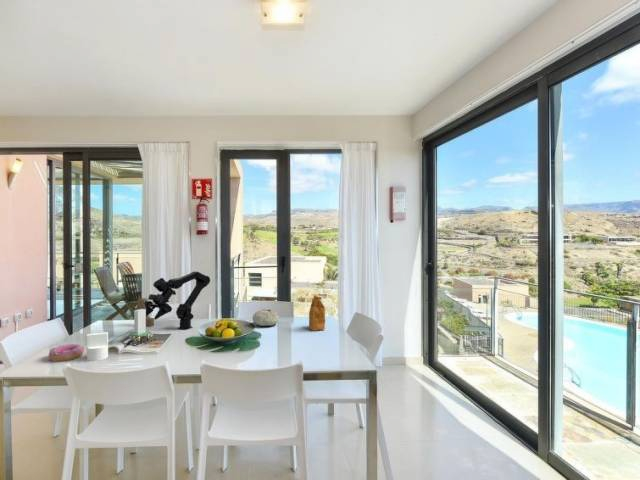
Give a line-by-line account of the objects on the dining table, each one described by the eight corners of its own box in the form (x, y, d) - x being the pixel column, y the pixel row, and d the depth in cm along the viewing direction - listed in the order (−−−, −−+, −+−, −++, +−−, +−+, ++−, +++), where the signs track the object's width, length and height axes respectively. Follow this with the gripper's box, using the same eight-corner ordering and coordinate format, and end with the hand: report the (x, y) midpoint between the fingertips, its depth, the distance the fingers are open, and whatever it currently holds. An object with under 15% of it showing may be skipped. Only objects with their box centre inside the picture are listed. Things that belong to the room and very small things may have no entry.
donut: (78, 350, 188) (78, 341, 188) (88, 357, 179) (88, 347, 179) (44, 358, 177) (44, 348, 177) (53, 365, 168) (53, 354, 168)
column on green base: (141, 331, 209) (141, 307, 209) (150, 333, 206) (150, 309, 206) (129, 335, 202) (128, 310, 202) (138, 337, 199) (138, 312, 198)
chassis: (142, 337, 212) (142, 330, 212) (156, 340, 207) (156, 333, 207) (123, 342, 201) (123, 335, 201) (137, 346, 196) (137, 338, 196)
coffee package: (321, 325, 242) (322, 293, 241) (326, 330, 230) (326, 296, 229) (307, 326, 240) (307, 294, 239) (311, 331, 227) (311, 297, 227)
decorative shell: (277, 328, 234) (277, 313, 234) (250, 328, 235) (250, 313, 234) (280, 321, 252) (280, 307, 252) (255, 321, 252) (255, 307, 252)
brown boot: (154, 324, 241) (154, 298, 241) (151, 326, 237) (151, 299, 237) (140, 324, 241) (140, 298, 241) (137, 326, 237) (137, 299, 236)
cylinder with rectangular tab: (85, 362, 172) (85, 337, 171) (88, 356, 180) (87, 332, 179) (107, 359, 176) (107, 334, 176) (108, 353, 184) (108, 330, 184)
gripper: (146, 287, 218) (129, 309, 208) (167, 289, 209) (151, 312, 200) (157, 298, 225) (142, 319, 215) (178, 300, 217) (163, 323, 207)
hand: (149, 318), depth 209 cm, fingers open, 9 cm apart
